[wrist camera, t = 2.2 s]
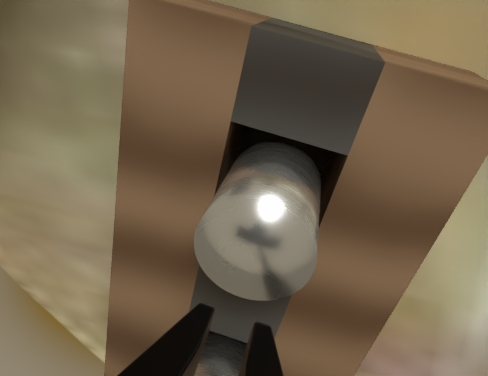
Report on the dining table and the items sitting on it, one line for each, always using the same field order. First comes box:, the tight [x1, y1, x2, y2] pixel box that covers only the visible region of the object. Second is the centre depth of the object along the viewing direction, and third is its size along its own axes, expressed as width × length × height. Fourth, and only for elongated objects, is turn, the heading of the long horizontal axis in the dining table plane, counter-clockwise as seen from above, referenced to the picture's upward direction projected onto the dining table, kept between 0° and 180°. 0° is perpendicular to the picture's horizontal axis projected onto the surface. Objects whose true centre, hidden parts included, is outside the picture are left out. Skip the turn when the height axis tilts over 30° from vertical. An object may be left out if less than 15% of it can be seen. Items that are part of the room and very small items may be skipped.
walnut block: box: [104, 0, 488, 376], centre depth 21 cm, size 24×14×5 cm, turn 167°
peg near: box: [194, 141, 321, 301], centre depth 14 cm, size 4×4×5 cm
